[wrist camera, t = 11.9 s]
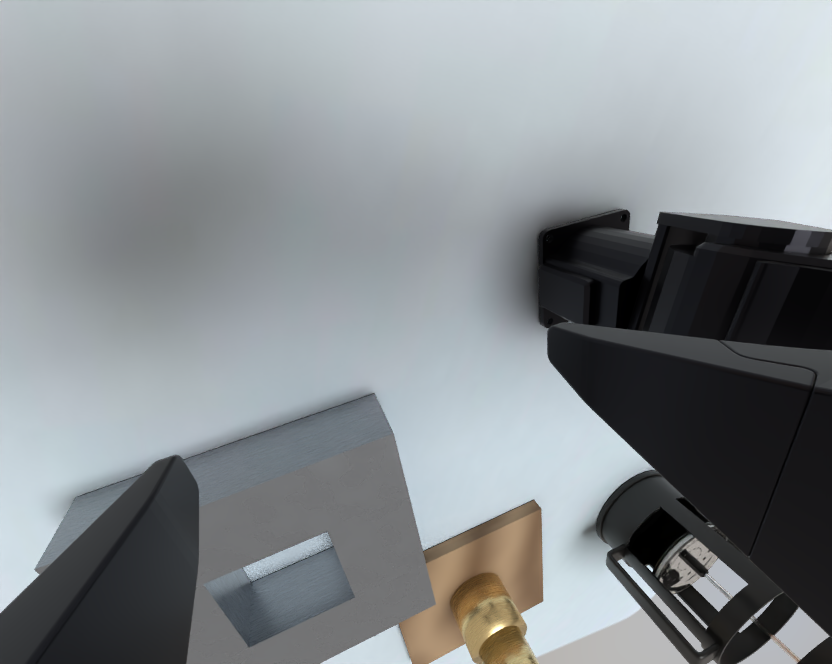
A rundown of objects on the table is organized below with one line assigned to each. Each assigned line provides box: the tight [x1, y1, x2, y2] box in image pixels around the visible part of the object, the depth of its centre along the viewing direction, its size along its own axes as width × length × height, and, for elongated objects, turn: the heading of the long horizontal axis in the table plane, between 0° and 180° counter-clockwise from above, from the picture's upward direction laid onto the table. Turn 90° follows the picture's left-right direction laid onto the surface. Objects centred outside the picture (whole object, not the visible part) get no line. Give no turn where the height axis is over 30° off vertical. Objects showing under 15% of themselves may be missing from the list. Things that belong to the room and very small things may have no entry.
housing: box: [34, 394, 436, 664], centre depth 23 cm, size 16×16×4 cm
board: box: [399, 500, 543, 664], centre depth 34 cm, size 14×14×1 cm
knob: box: [450, 573, 539, 664], centre depth 30 cm, size 5×5×9 cm
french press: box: [596, 471, 832, 664], centre depth 29 cm, size 12×9×23 cm
